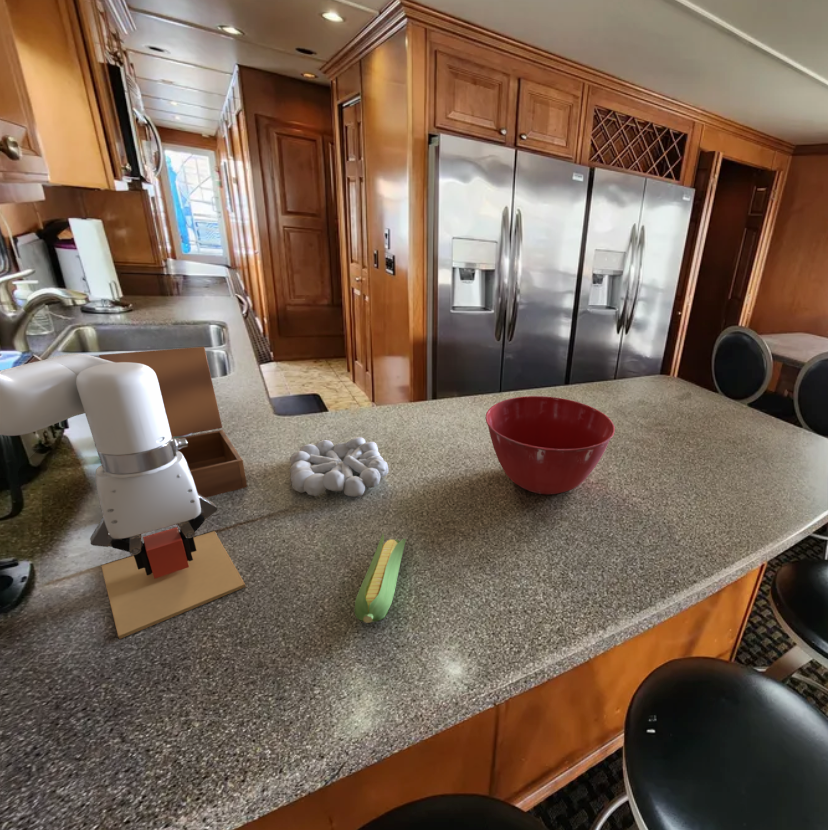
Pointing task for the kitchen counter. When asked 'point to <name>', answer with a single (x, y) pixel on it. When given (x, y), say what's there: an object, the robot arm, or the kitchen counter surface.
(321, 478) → the campfire
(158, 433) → the robot arm
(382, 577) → the edible corn
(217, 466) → the open wooden box
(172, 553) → the block
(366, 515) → the kitchen counter surface
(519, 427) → the mixing bowl
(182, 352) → the lid
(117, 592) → the mat
